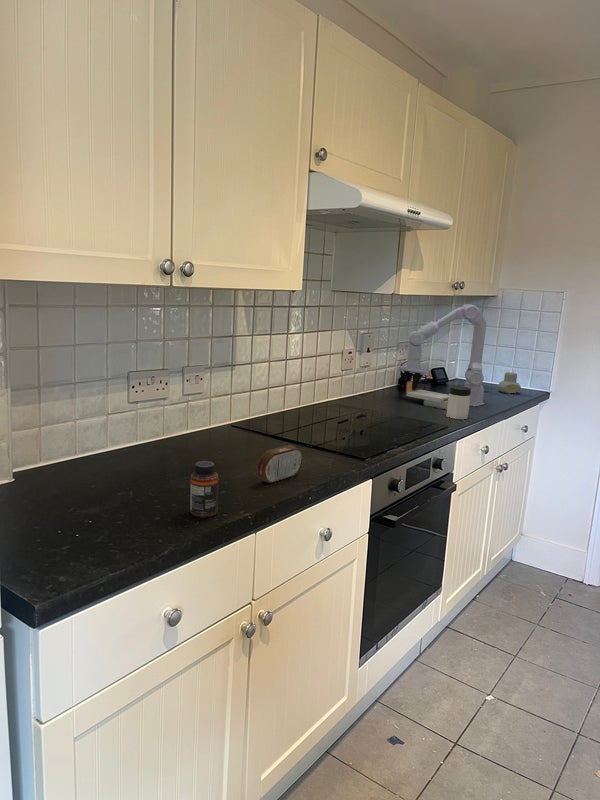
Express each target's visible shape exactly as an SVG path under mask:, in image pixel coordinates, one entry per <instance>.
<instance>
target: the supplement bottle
mask: <svg viewBox="0 0 600 800" xmlns="http://www.w3.org/2000/svg"><path fill="white" fill-rule="evenodd" d="M194 465H195V466H194V471H193V472H192V473H191V475H190V485H189V487H190V491H189V492H190V494H189V495H190V499H189V500H190V501H189V505H190V507H189V512H190V514H191V515H192V516H194V517H197V518H211V517H213V516H215V515H216V514H217V513H218V510H219V509H218V508H219V507H218V506H219V474H218V473H217V472H216V471H215V463H214V462H212V461H208V460H202V461H200V460H199V461H197V462H195V464H194Z"/></svg>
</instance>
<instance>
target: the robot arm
mask: <svg viewBox="0 0 600 800" xmlns="http://www.w3.org/2000/svg"><path fill="white" fill-rule="evenodd" d="M455 320H467V321H468V322H469V323H470V324H471V325H472V326H473V334H472V342H471V349H470V357H469V363H468V365H467V370H466V371H465V373H464V378H465V380H466V381H465V382H464V387H468V388H470V389H471V393H470V395H471V396H470V405H469V407H475V406H476V407H479V406H483V405H485V403H484V402H483V401H484V400H483V399H484V393H485V389H484V386H483V385H482V383H483V382H484V375H483V365H482V362H483V355H484V347H485V337H486V330H487V322H486V320H485V317H484V316H483V313H482V311H481V309H480V308H479V307H478V306H476V305H474V304H469V303H466V304H463V305H461V306H459V307H457V308H455V309H454V310H451V312H449V313H447V314H446V315H444V316H443V317H441V318H439V320H437V321H427V322H426V323H425V325H423V326H421V327H419V328H416V331H415V330H414V331H411V333H410V334H409V335H408V337H407V338H408V342H409V344H408V348H407V360H406V366H401V365H400V366H397V371H398V372H402V376H403V379H404V382H405V388H406V389H407V382H408V381H413V385H412V390H417V387H418V384H419V382H420V380H421V378H422V377H423V376H428V375H429V374H430V373H429V370H426V369H421V368H420V367H421V358H422V344H423V343H424V341H427V340H428V339H430V338H432V337H433V336H435V335H437V334H438V333H439V331H440V328H442V327H445V326H447V325H448V324H450V323H452V322H453V321H455ZM406 389H405V390H406Z"/></svg>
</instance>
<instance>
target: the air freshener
mask: <svg viewBox="0 0 600 800" xmlns="http://www.w3.org/2000/svg"><path fill="white" fill-rule="evenodd" d="M517 378H518V374H517V373H515V372H509V371H507V372H505V373H504V377H503V380H502V381H500V382H499V383H498V384H497V389H498V390H499V391H500V392H502V393H504V392H505V394H507V393H514V394H517V393H519V392H520V391H521V387H522V386H521V384H520V383H519V382H517V380H518V379H517Z"/></svg>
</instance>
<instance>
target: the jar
mask: <svg viewBox="0 0 600 800" xmlns="http://www.w3.org/2000/svg"><path fill="white" fill-rule="evenodd" d="M470 393H471V389H470V388H468V387H465V386H463V385H451V386H449V392H448V395H449V397H448V406H447V410H446V415H445V416H446V418H449V417H450V419H453V420H464V419H466V420H467V419H469V411H470V396H471V395H470Z"/></svg>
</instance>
